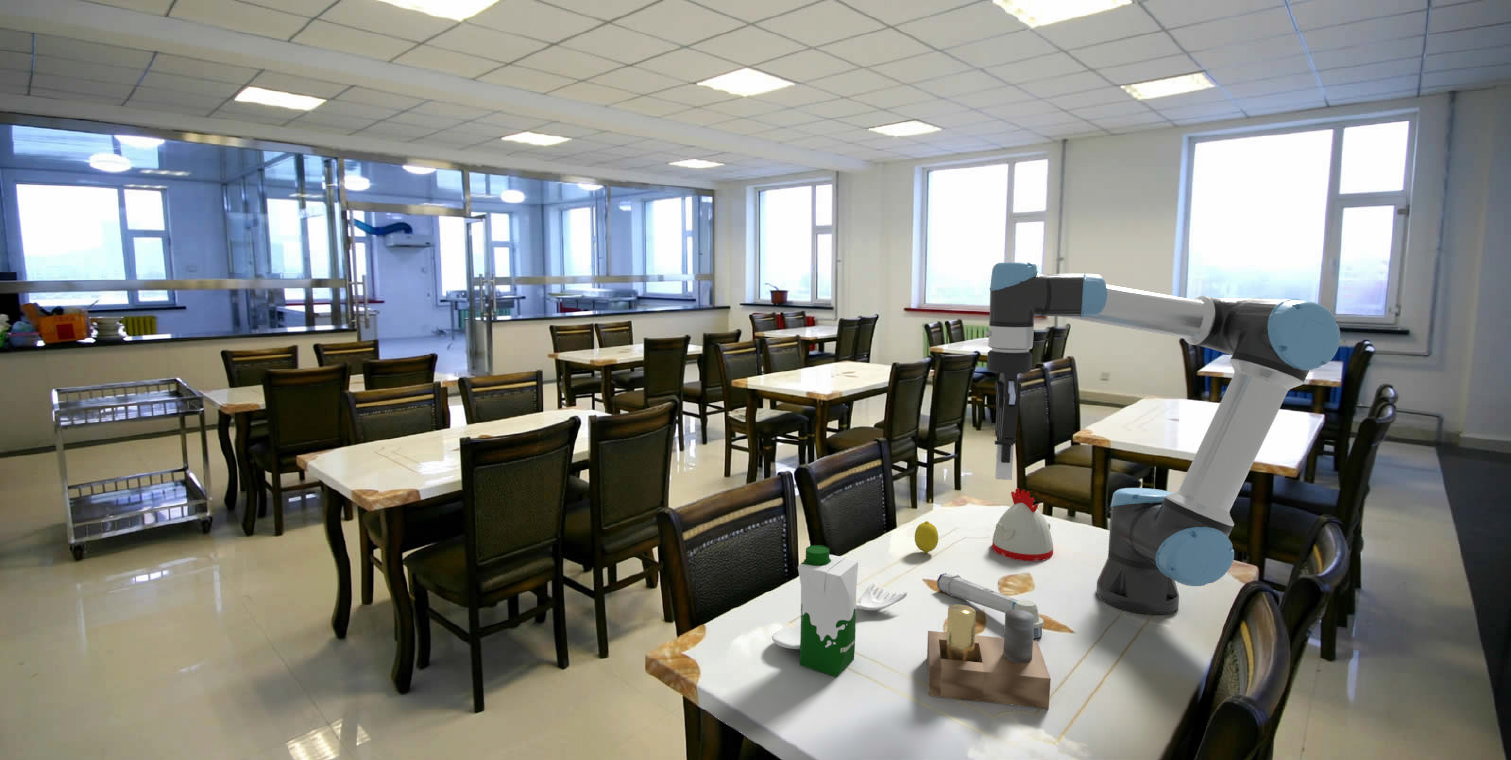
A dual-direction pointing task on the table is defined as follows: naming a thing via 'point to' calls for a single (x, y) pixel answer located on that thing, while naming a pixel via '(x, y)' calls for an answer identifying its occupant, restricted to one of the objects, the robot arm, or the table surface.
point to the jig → (993, 667)
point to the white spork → (866, 602)
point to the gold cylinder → (961, 633)
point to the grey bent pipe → (987, 598)
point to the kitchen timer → (1023, 531)
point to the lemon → (926, 537)
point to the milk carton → (827, 610)
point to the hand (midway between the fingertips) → (1003, 478)
